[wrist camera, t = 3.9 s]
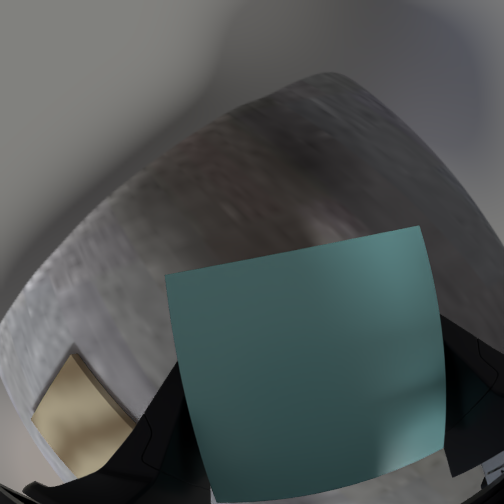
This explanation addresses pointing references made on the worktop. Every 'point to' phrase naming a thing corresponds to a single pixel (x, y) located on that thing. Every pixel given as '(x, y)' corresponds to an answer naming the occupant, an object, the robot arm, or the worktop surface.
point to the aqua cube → (311, 365)
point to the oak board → (81, 419)
